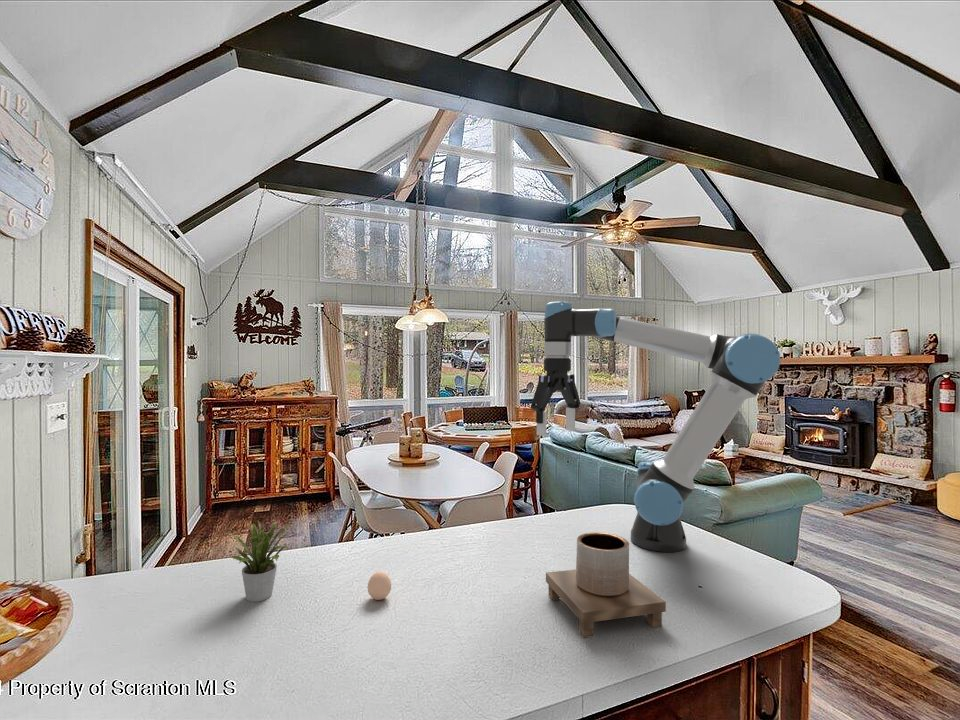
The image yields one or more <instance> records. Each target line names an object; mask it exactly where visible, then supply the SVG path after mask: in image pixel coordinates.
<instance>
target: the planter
mask: <svg viewBox="0 0 960 720" xmlns="http://www.w3.org/2000/svg"><path fill="white" fill-rule="evenodd" d="M575 563H576V564H575V569H576V583H577V585H578V586H579V587H580V588H581V589H582V590H584V591H586V592H587V593H590V594H593V595H596V596H602V597H614V596H619V595H621V594H624V593H625V592H626V591H627V590H628V588H629V574H630V543H629V541H628V540H627V539H625V538H624V537H622V536H619V535H616V534H614V533H613V534H612V533H607V532H601V531H600V532H597V531H596V532H595V531H593V532H586V533H582V534H580V535H578V536H577V538H576V562H575Z"/></svg>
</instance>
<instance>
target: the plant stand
mask: <svg viewBox="0 0 960 720" xmlns="http://www.w3.org/2000/svg"><path fill="white" fill-rule="evenodd" d="M545 582H546V583H547V585H548V596H550V597H549V598H550V599H551V600H552V599H556V600H561V601H562V602H563V603H565V605H566V606H567V607H568V608H569V609H570V611H571V612H572V613H573V614H574V615H575V616H576V617H577V618H578V628H579V629H578V632H579V633H580V635H581V636H582V637H583V638H589V637H593V636H594V624H595V623H596V622H602V621H609V620H616V619H625V618H631V617H637V616H645V615H646V623H648V624H649V625H650V626H651V627H652V628H657V627H662V626H663V625H662V624H663V623H662V622H663V621H662V620H663V618H662V617H663V613H666V611H667V609H666V607H667V605H666V604H667V602H666V600H664V599H663V598H662V597H661V596H659V595H657V593H655V592H654V591H652V590H651V588H649V587H647V586H646V585H645V584H643V583H642V582H641V581H640V580H638V579H637V578H636V577H634V576H633V575H632V574H631V573H629V588H628V590H627V591H626V592H625V593H624V594H621V595H619V596H614V597H602V596H596V595H593V594H590V593H587V592H586V591H584V590H582V589H581V588H580V587H579V586H578V585H577V583H576V568H575V569H568V570H567V569H566V570H559V571H557V570H556V571H549V572H545ZM559 598H561V599H559Z"/></svg>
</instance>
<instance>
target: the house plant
mask: <svg viewBox="0 0 960 720" xmlns="http://www.w3.org/2000/svg"><path fill="white" fill-rule="evenodd" d="M278 522H279V519H278V520H276V521H274V522H273V523H272V525H271V527H270V528H269V531H268V533H267V532H265V531H266V530H265V529H264V528H263V526H262V523H261V522H260V521H259V520H257V525H258V527H257V526H256V524H255V523H252V522H251V523H250V536H251V538H250V539H251V540H250V541H251V542H250V543H251V551H250V549H249V548H248V546H247V545H246V543H245V542H244V541H243V540H242V539H241V538H240V537H238V536H236V535H234V534H232V533H231V532H227V533H226V534H228V535H229V536H232V537H233V538H234V539H236V541H237V542H238V543H239V544H241V546H242V547H243V549H244V550H245V551H246V552H247V554H248V555H249V556H248V555H247V554H246V553H245V552H244V551H243V550H242V549H240V548H238V547H235V549H236V551H237V552H238V554H239V555H234V556H231V557H230V558H229V559H233V560H236V561H239V562H238V564H241V563H244V565H245V566H244V567H243V568H242V569H241V575H242V580H243V587H244V593H245V598H246V600H247V601H248V602H255V603H256V602H262V601H265V600H268V599H270V598H271V597H272V595H273V591H274V583H275V579H276V573H277V568H278V565H277V563H275V561H276V562H277V561H278V559H279V558H280V555H279V553H280V552H282V550H284V549H285V548H286V549H287V550H288V549H289V548H288V547H287V546H290V545H293V544H294V543H288V544H286V545H278V544H279V542H280V541H281V540H283V538H285V537H286V536H287V535H291V534H293V532H290V533H289V532H288V533H285V534H284V535H280V534H281V533H282V532H284V531H285V530H287V528H289V527H292V526H295V525H296V523H292V524H288V525H285V526H284V527H282V528H281V529H280V530H278V531H277V533H276V534H275V535H274V532H275V530H276V528H277V527H278V525H277V524H278ZM258 528H259V529H258ZM273 535H274V536H273ZM272 537H273V538H272ZM277 538H278V540H277V541H276V543H275V540H276V539H277ZM271 539H272V540H271ZM273 543H275V544H274V546H273V547H272V545H273ZM277 545H278V546H277ZM271 547H272V549H271V550H270V548H271ZM278 549H279V550H278ZM269 550H270V551H269ZM276 550H278V551H277V552H276V553H275V554H274V555H272V554H273V553H274V552H275V551H276ZM268 552H269V553H268ZM271 555H272V556H271ZM274 560H275V561H274Z"/></svg>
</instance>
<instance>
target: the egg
mask: <svg viewBox="0 0 960 720" xmlns="http://www.w3.org/2000/svg"><path fill="white" fill-rule="evenodd" d="M391 580H392V579H391V578H390V576H389V575H388V574H387V573H386V572H385V571H383V570H382V571H381V570H378V571H376V572H374V573H373V574H371V577H370V578H369V579H368V583H367V593H368V595H369V596H370V597H371V598H372V599H373V600H376V601H381V600H385V598H387V597H388V596H389V595H390V593H391V591H392V581H391Z"/></svg>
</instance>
